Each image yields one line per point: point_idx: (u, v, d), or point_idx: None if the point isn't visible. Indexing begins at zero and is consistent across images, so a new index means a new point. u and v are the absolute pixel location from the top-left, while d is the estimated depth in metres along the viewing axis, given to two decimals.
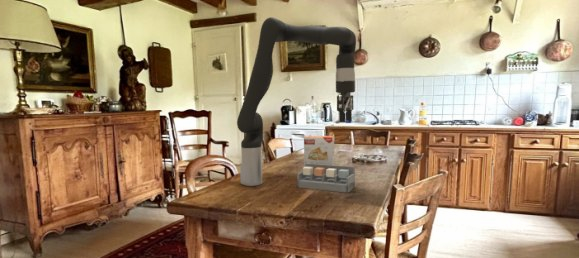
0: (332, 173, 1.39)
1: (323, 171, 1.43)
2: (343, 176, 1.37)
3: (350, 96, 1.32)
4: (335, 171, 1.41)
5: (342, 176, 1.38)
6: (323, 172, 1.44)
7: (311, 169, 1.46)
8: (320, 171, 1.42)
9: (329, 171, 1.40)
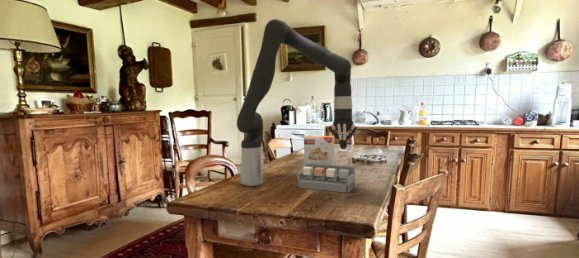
0: (332, 173, 1.39)
1: (323, 171, 1.43)
2: (343, 176, 1.37)
3: None
4: (335, 171, 1.41)
5: (342, 176, 1.38)
6: (323, 172, 1.44)
7: (311, 169, 1.46)
8: (320, 171, 1.42)
9: (329, 171, 1.40)
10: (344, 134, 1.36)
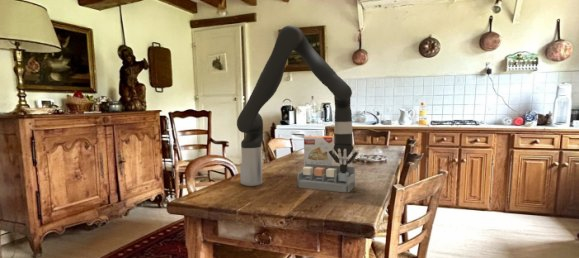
0: (332, 173, 1.39)
1: (323, 171, 1.43)
2: (343, 179, 1.37)
3: None
4: (335, 171, 1.41)
5: (342, 179, 1.38)
6: (323, 172, 1.44)
7: (311, 169, 1.46)
8: (320, 171, 1.42)
9: (329, 171, 1.40)
10: (344, 159, 1.37)
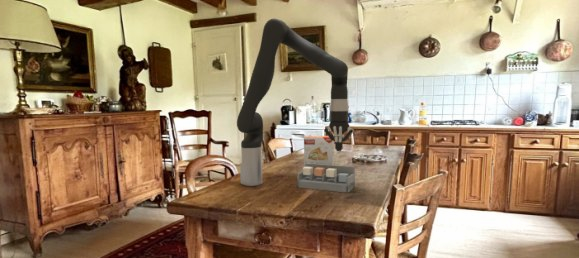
0: (332, 173, 1.39)
1: (323, 171, 1.43)
2: (343, 180, 1.38)
3: None
4: (335, 171, 1.41)
5: (342, 180, 1.38)
6: (323, 172, 1.44)
7: (311, 169, 1.46)
8: (320, 171, 1.42)
9: (329, 171, 1.40)
10: (340, 136, 1.37)
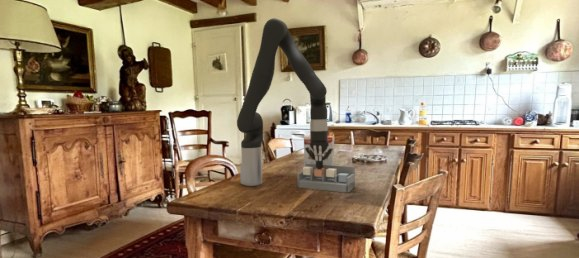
0: (332, 173, 1.39)
1: (323, 172, 1.44)
2: (343, 180, 1.38)
3: None
4: (335, 171, 1.41)
5: (342, 180, 1.38)
6: (323, 172, 1.44)
7: (311, 169, 1.46)
8: (320, 171, 1.42)
9: (329, 171, 1.40)
10: (320, 155, 1.42)
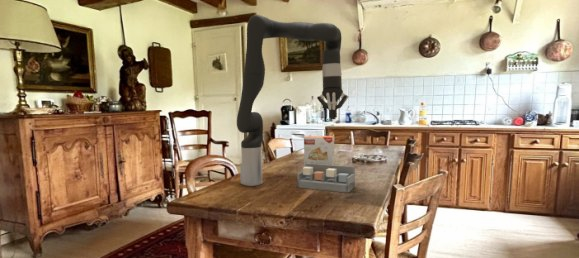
0: (332, 173, 1.39)
1: None
2: (343, 180, 1.38)
3: None
4: (335, 171, 1.41)
5: (342, 180, 1.38)
6: None
7: (311, 169, 1.46)
8: (320, 175, 1.42)
9: (329, 171, 1.40)
10: (333, 103, 1.30)
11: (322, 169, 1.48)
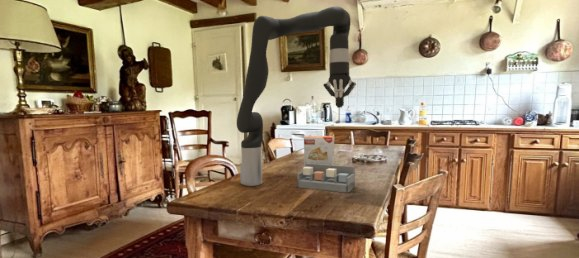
0: (332, 173, 1.39)
1: None
2: (343, 180, 1.38)
3: None
4: (335, 171, 1.41)
5: (342, 180, 1.38)
6: None
7: (311, 169, 1.46)
8: (320, 175, 1.42)
9: (329, 171, 1.40)
10: (340, 91, 1.24)
11: (322, 169, 1.48)
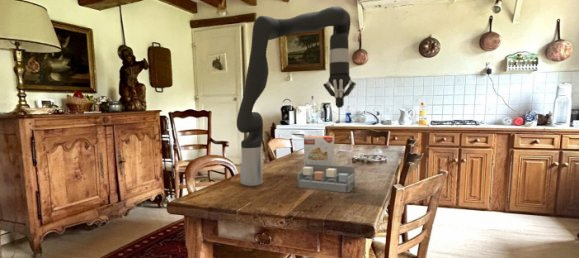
0: (332, 173, 1.39)
1: None
2: (343, 180, 1.38)
3: None
4: (335, 171, 1.41)
5: (342, 180, 1.38)
6: None
7: (311, 169, 1.46)
8: (320, 175, 1.42)
9: (329, 171, 1.40)
10: (340, 91, 1.24)
11: (322, 169, 1.48)
